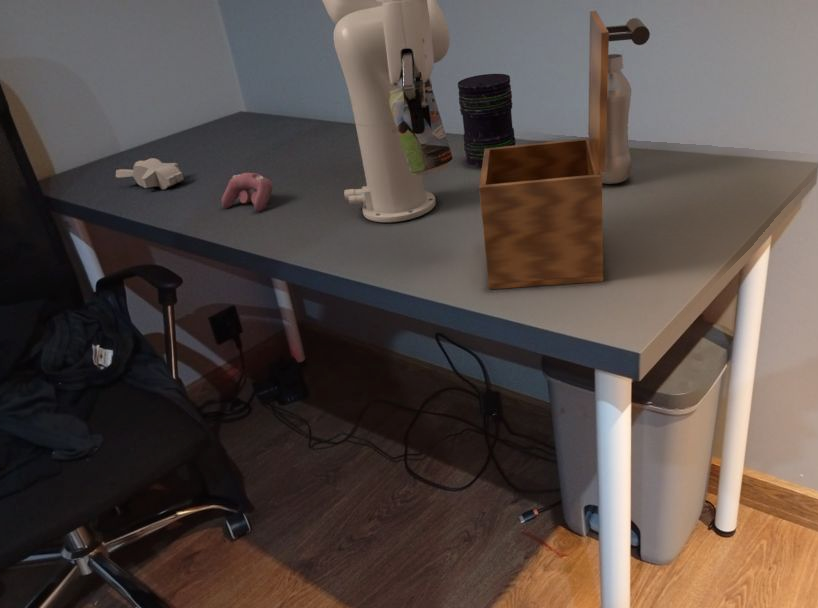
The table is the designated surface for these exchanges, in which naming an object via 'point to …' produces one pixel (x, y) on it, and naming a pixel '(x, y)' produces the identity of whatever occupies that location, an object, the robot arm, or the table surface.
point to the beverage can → (421, 135)
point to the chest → (542, 214)
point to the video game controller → (241, 188)
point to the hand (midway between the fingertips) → (423, 129)
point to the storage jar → (485, 115)
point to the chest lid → (605, 76)
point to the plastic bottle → (617, 123)
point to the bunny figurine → (153, 173)
